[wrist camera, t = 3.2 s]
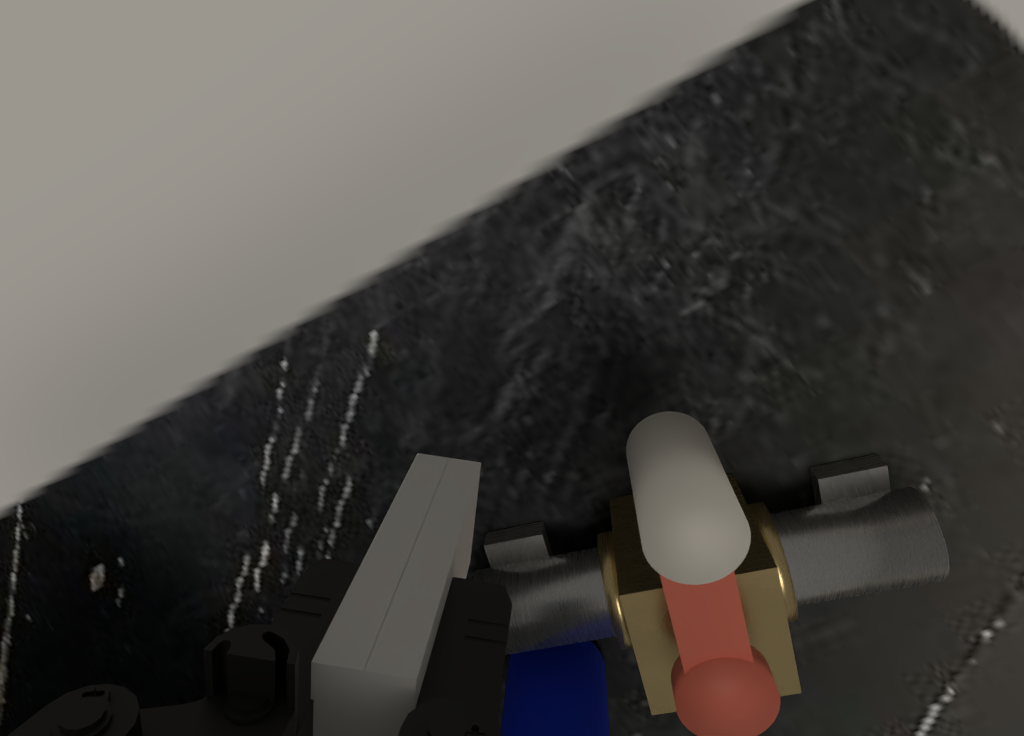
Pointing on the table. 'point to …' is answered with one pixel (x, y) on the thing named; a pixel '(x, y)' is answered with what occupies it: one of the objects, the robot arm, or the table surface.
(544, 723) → the beverage can
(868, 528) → the valve
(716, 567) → the lever
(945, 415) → the table surface
